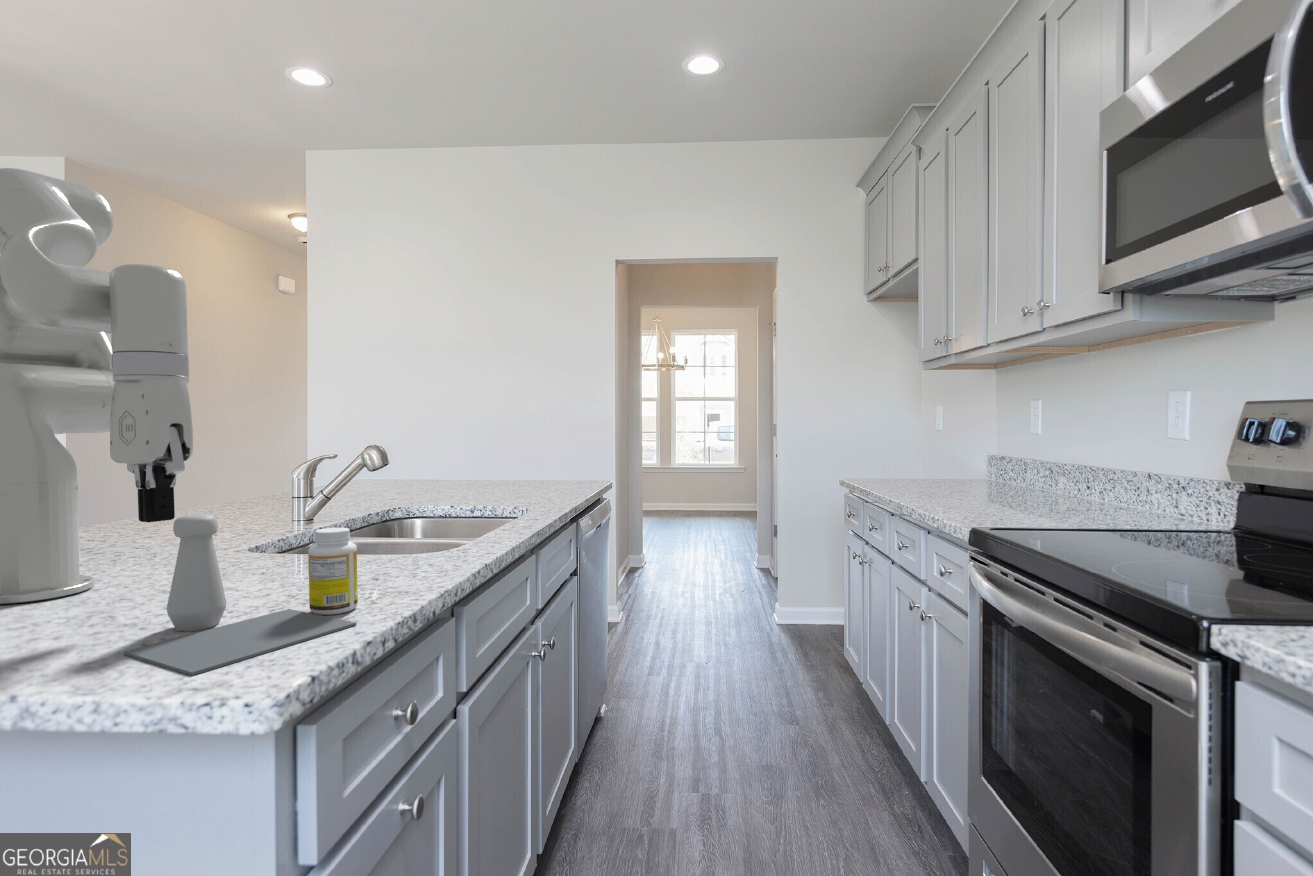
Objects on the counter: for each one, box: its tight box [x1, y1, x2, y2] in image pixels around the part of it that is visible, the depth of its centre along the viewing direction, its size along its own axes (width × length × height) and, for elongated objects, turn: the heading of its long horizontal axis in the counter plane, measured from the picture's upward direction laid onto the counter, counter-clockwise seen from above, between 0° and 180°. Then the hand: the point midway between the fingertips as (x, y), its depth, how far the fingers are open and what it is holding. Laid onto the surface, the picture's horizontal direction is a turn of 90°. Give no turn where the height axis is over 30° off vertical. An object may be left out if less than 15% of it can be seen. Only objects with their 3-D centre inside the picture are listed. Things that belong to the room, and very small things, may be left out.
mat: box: [123, 608, 357, 676], centre depth 76 cm, size 12×18×1 cm
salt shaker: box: [165, 513, 227, 633], centre depth 80 cm, size 6×6×13 cm
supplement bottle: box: [307, 527, 359, 616], centre depth 87 cm, size 6×6×10 cm
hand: (157, 520), depth 84 cm, fingers closed
